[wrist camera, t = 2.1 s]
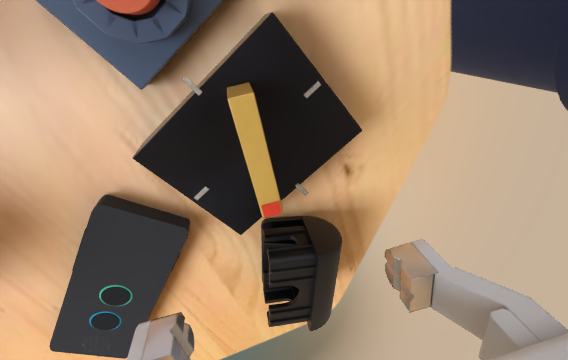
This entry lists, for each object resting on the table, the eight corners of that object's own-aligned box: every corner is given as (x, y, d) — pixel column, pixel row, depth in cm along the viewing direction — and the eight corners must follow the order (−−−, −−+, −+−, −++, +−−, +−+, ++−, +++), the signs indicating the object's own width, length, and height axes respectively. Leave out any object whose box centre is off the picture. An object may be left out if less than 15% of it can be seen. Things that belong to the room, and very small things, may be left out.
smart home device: (45, 352, 30) (91, 202, 23) (53, 336, 31) (99, 192, 24) (129, 360, 33) (192, 231, 26) (133, 346, 34) (193, 220, 27)
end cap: (319, 277, 35) (339, 327, 29) (262, 284, 33) (270, 339, 28) (327, 209, 30) (353, 253, 24) (261, 215, 29) (270, 263, 23)
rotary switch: (255, -1, 20) (260, -5, 17) (355, 128, 26) (370, 140, 23) (129, 134, 23) (117, 149, 20) (247, 222, 29) (249, 242, 26)
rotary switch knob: (226, 87, 19) (227, 99, 16) (249, 81, 20) (254, 93, 16) (257, 194, 24) (263, 220, 21) (276, 189, 24) (284, 214, 21)
